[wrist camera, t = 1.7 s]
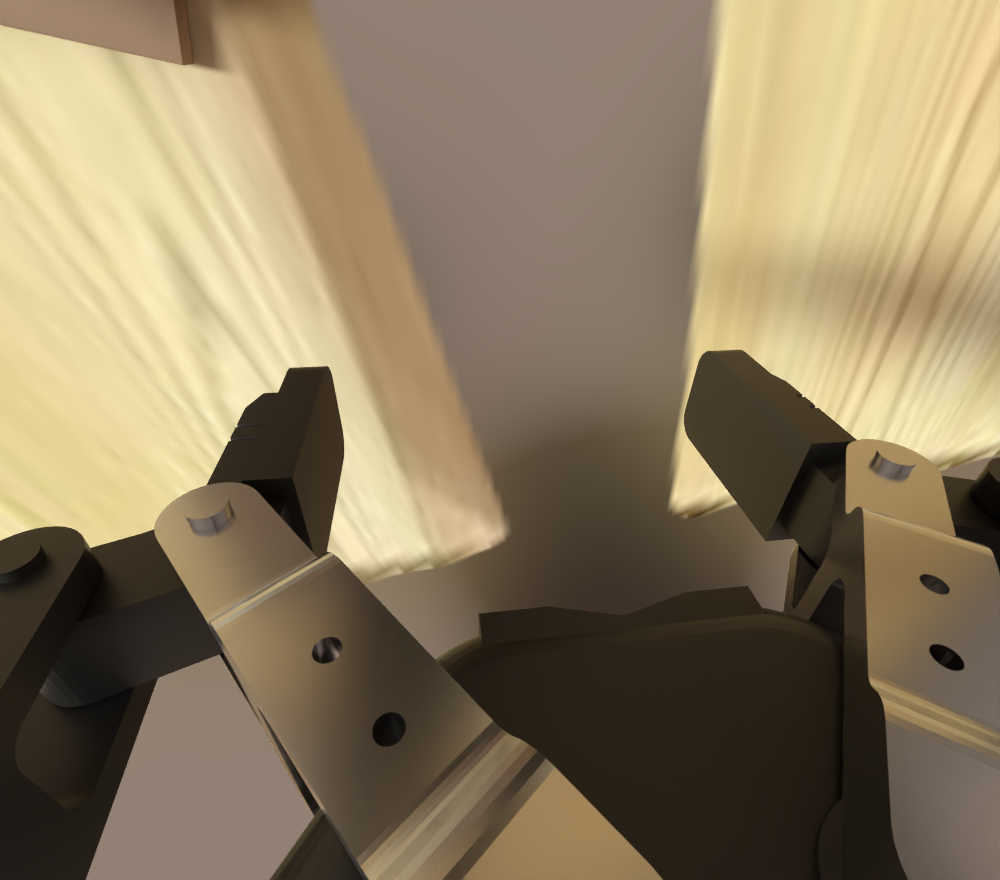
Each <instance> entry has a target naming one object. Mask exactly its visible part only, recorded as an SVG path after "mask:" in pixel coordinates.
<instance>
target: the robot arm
mask: <svg viewBox="0 0 1000 880" xmlns="http://www.w3.org/2000/svg"><path fill="white" fill-rule="evenodd" d="M237 425H238V427H236V428H235V430H234V432H233V434H232V436H231V441H229V442H228V444H227V446H226V448H225V450H224V452H223V454H222V456H221V458H220V460H219V462H218V464H217V466H216V468H215V470H214V472H213V474H212V476H211V477H210V479H209V481H208V483H207V485H206V486H203V487H200V488H197V489H195V490H192V491H190V492H188V493H186V494H184V495H182V496H181V497H179V498H177V499H176V500H174V501H173V502H172V503H170V504H169V505H168V506H167V507H166V508H165V509H164V510H163V511H162V513H161V514H160V515H159V517H158V519H157V521H156V523H155V527H154V530H151V531H148V532H145V533H142V534H139V535H135V536H132V537H128V538H125V539H121V540H117V541H114V542H110V543H107V544H103V545H100V546H96V547H93V548H90V547H89V545H88V544H87V542H86V541H85V539H84V538H83V536H82V535H81V534H80V533H79V532H78V531H76V530H74V529H72V528H67V527H58V526H54V527H43V528H37V529H33V530H29V531H25V532H22V533H19V534H16V535H13V536H11V537H8V538H6V539H3V540H1V541H0V880H86V877H87V874H88V872H89V869H90V866H91V863H92V860H93V858H94V855H95V852H96V849H97V846H98V843H99V841H100V838H101V835H102V833H103V830H104V827H105V824H106V821H107V818H108V816H109V813H110V810H111V807H112V804H113V802H114V799H115V796H116V793H117V791H118V788H119V785H120V782H121V779H122V777H123V774H124V771H125V768H126V766H127V763H128V760H129V757H130V754H131V751H132V749H133V746H134V743H135V740H136V737H137V735H138V732H139V729H140V726H141V723H142V721H143V717H144V715H145V712H146V710H147V707H148V704H149V701H150V698H151V696H152V693H153V690H154V687H155V684H156V682H157V679H158V678H159V677H161V676H164V675H166V674H169V673H172V672H174V671H177V670H180V669H182V668H185V667H187V666H190V665H193V664H195V663H198V662H200V661H203V660H206V659H208V658H211V657H214V656H216V655H219V657H220V658H221V660H222V662H223V663H224V665H225V667H226V668H227V670H228V672H229V673H230V675H231V677H232V678H233V680H234V682H235V683H236V685H237V687H238V689H239V690H240V692H241V694H242V695H243V697H244V699H245V700H246V702H247V704H248V706H249V707H250V709H251V710H252V712H253V714H254V716H255V717H256V719H257V721H258V722H259V724H260V726H261V727H262V729H263V731H264V733H265V734H266V736H267V737H268V739H269V741H270V743H271V745H272V746H273V748H274V750H275V752H276V753H277V755H278V757H279V759H280V761H281V762H282V764H283V766H284V768H285V770H286V771H287V773H288V775H289V777H290V778H291V780H292V782H293V784H294V785H295V787H296V788H297V790H298V792H299V794H300V795H301V797H302V799H303V801H304V802H305V804H306V806H307V807H308V809H309V811H310V812H311V814H312V816H313V817H314V818H313V819H312V821H311V822H310V823H309V825H308V826H307V828H306V829H305V830H304V832H303V833H302V835H301V836H300V838H299V839H298V841H297V842H296V843H295V845H294V846H293V848H292V849H291V850H290V852H289V853H288V855H287V856H286V857H285V859H284V860H283V862H282V863H281V864H280V866H279V867H278V869H277V870H276V872H275V873H274V874H273V876H272V877H271V879H270V880H1000V458H995V459H992V460H991V461H990V462H989V463H988V464H987V466H986V467H985V469H984V470H983V471H982V473H981V474H980V475H979V476H978V478H977V479H976V480H970V479H962V478H954V477H947V476H941V473H940V471H939V470H938V469H937V467H936V466H935V465H934V464H933V463H931V462H930V461H929V460H928V459H926V458H925V457H923V456H922V455H920V454H918V453H916V452H914V451H912V450H910V449H908V448H905V447H903V446H900V445H897V444H894V443H890V442H886V441H881V440H873V439H862V440H856V439H855V438H854V437H853V436H851V435H850V434H849V433H848V432H847V431H845V430H844V429H843V428H842V427H841V426H839V425H838V424H837V423H836V422H835V421H833V420H832V419H831V418H830V417H829V416H827V415H826V414H825V413H824V412H822V411H821V410H820V409H819V408H815V405H814V404H813V403H812V402H810V401H809V400H808V399H807V398H806V397H802V394H801V393H800V392H798V391H797V390H796V389H795V388H794V387H792V386H791V385H790V384H789V383H788V382H786V381H784V380H782V379H780V378H778V377H776V376H774V375H772V374H771V373H769V372H768V371H767V370H766V369H765V368H763V367H762V366H761V365H760V364H759V363H757V362H756V361H755V360H754V359H753V358H752V357H750V356H749V355H748V354H747V353H746V352H744V351H742V350H725V351H707V352H705V353H704V354H703V355H702V356H701V358H700V360H699V363H698V366H697V370H696V373H695V377H694V381H693V384H692V388H691V391H690V395H689V399H688V402H687V406H686V409H685V414H684V426H685V431H686V434H687V436H688V438H689V440H690V441H691V442H692V444H693V445H694V446H695V448H696V449H697V450H698V452H699V453H700V454H701V456H702V457H703V458H704V460H705V461H706V462H707V464H708V465H709V466H710V468H711V469H712V470H713V472H714V473H715V474H716V476H717V477H718V478H719V480H720V481H721V482H722V484H723V485H724V486H725V488H726V489H727V490H728V492H729V493H730V494H731V496H732V497H733V498H734V500H735V501H736V502H737V504H738V505H739V506H740V508H741V509H742V510H743V512H744V513H745V514H746V516H747V517H748V518H749V520H750V521H751V522H752V524H753V525H754V526H755V528H756V529H757V530H758V532H759V533H760V534H761V535H762V537H763V538H764V539H765V541H773V540H784V539H794V540H795V541H796V542H797V543H796V546H795V547H794V549H793V551H792V553H791V556H790V562H789V570H788V577H787V585H786V593H785V601H784V609H783V612H780V611H775V610H771V609H766V608H762V607H761V606H760V604H759V603H758V602H757V600H756V598H755V597H754V595H753V593H752V592H751V590H750V589H749V587H748V586H743V587H733V588H723V589H714V590H704V591H694V592H685V593H682V594H680V595H677V596H674V597H672V598H669V599H667V600H664V601H662V602H659V603H656V604H654V605H651V606H648V607H646V608H643V609H640V610H638V611H635V612H633V613H630V614H626V615H614V614H606V613H597V612H588V611H581V610H572V609H563V608H556V607H539V608H530V609H520V610H511V611H502V612H491V613H481V614H479V636H478V637H476V638H473V639H470V640H468V641H465V642H463V643H462V644H460V645H458V646H456V647H454V648H452V649H450V650H448V651H447V652H446V653H444V654H442V655H441V656H439V657H438V658H436V659H434V658H433V657H432V656H431V655H430V654H429V652H428V651H426V649H425V648H424V647H423V646H422V645H421V644H420V643H419V642H418V641H417V640H416V639H415V638H414V637H413V636H412V635H411V634H410V633H409V631H408V630H407V629H406V628H405V627H404V626H403V625H402V624H401V623H400V622H399V621H398V620H397V619H396V618H395V617H394V616H393V615H392V614H391V613H390V611H389V610H388V609H387V608H386V607H385V606H384V605H383V604H382V603H381V602H380V601H379V600H378V599H377V598H376V597H375V596H374V595H373V593H372V592H371V591H370V590H369V589H368V588H367V587H366V586H365V585H364V584H363V583H362V582H361V581H360V580H359V579H358V578H357V577H356V576H355V575H354V573H353V572H352V571H351V570H350V569H349V568H348V567H347V566H346V565H345V564H344V563H343V562H342V561H341V560H340V559H339V558H338V557H337V556H336V555H334V554H333V553H331V552H327V547H328V541H329V536H330V531H331V525H332V520H333V514H334V509H335V503H336V498H337V492H338V487H339V481H340V476H341V470H342V465H343V459H344V438H343V430H342V425H341V420H340V414H339V409H338V404H337V399H336V394H335V388H334V383H333V378H332V374H331V371H330V369H329V367H328V366H324V367H300V368H289V369H288V371H287V373H286V376H285V378H284V380H283V383H282V385H281V387H280V390H279V392H278V393H264V394H262V395H261V396H260V397H259V398H257V399H256V400H255V401H254V402H252V403H251V404H250V405H249V406H247V407H246V408H245V410H244V412H243V414H242V416H241V418H240V420H239V422H238V424H237Z"/></svg>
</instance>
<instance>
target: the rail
mask: <svg viewBox="0 0 1000 880" xmlns="http://www.w3.org/2000/svg"><path fill="white" fill-rule="evenodd" d="M0 25H3V26H8V27H12V28H17V29H22V30H26V31H31V32H35V33H40V34H44V35H49V36H53V37H58V38H62V39H67V40H71V41H76V42H80V43H85V44H89V45H94V46H98V47H103V48H108V49H112V50H117V51H121V52H126V53H130V54H135V55H139V56H144V57H148V58H153V59H157V60H162V61H166V62H171V63H175V64H180V65H187V64H193V56H192V48H191V40H190V33H189V25H188V17H187V10H186V2H185V0H0Z"/></svg>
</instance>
